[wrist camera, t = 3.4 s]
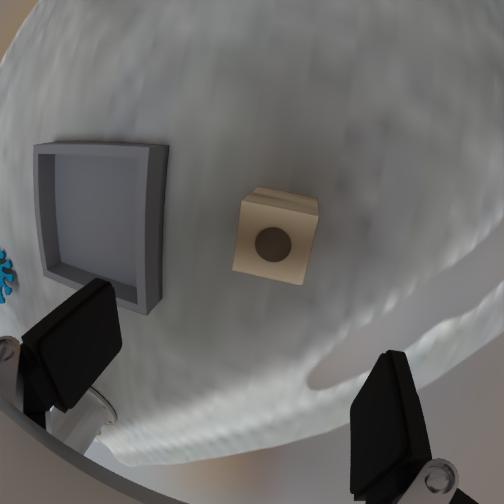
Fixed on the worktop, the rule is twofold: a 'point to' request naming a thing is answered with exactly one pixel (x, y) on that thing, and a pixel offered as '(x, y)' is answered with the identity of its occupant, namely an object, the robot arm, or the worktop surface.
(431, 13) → the worktop surface
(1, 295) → the gear
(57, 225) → the tray
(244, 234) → the maple block
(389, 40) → the worktop surface
